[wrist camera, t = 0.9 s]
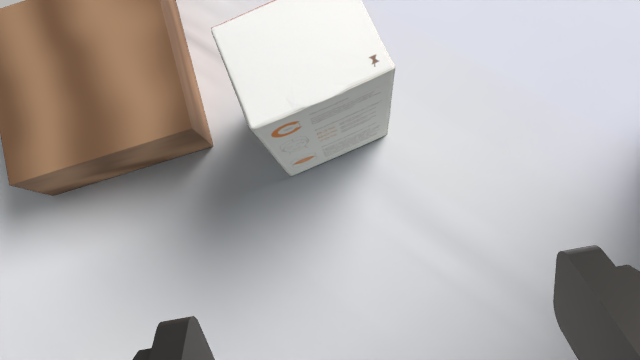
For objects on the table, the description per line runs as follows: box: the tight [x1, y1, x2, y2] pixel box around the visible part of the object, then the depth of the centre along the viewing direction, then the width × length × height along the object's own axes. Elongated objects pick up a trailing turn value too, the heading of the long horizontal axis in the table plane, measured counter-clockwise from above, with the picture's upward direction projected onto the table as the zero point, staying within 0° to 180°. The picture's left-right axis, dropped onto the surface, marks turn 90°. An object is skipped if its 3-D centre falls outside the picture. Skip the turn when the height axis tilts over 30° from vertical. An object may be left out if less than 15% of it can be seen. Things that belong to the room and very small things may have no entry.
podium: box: [0, 0, 213, 196], centre depth 39 cm, size 13×13×5 cm
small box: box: [211, 0, 395, 176], centre depth 34 cm, size 8×6×13 cm
